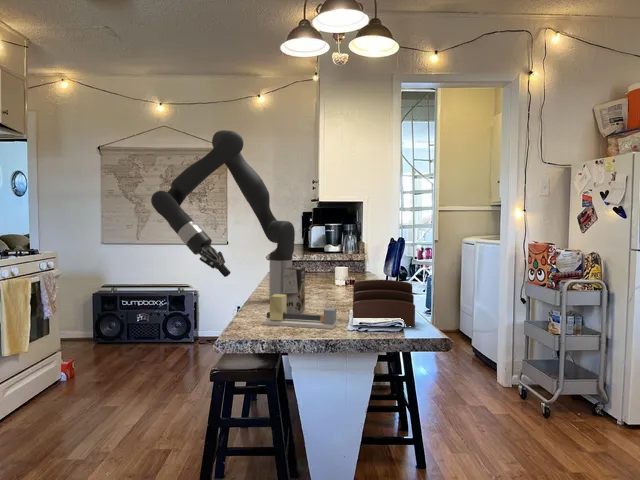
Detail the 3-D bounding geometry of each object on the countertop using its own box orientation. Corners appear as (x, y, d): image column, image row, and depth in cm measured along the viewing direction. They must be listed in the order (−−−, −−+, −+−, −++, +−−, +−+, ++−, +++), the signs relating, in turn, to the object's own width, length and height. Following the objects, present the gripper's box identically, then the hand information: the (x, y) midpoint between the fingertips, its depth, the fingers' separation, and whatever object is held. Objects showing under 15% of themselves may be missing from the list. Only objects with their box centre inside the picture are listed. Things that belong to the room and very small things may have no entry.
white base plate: (270, 319, 153) (270, 303, 153) (337, 323, 148) (337, 306, 148) (262, 324, 145) (262, 307, 145) (332, 328, 140) (333, 311, 140)
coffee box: (299, 314, 162) (300, 269, 161) (282, 313, 163) (282, 268, 162) (305, 309, 171) (305, 266, 170) (289, 308, 172) (289, 266, 171)
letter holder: (352, 319, 155) (353, 278, 154) (411, 321, 153) (412, 280, 152) (352, 326, 145) (352, 282, 144) (415, 328, 143) (416, 284, 142)
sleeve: (275, 316, 151) (275, 293, 151) (286, 316, 151) (286, 294, 150) (269, 319, 146) (269, 296, 146) (281, 320, 145) (281, 297, 145)
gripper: (192, 230, 147) (227, 269, 145) (210, 229, 160) (243, 265, 157) (177, 246, 148) (211, 285, 146) (196, 244, 161) (228, 280, 159)
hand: (228, 274), depth 152 cm, fingers closed
